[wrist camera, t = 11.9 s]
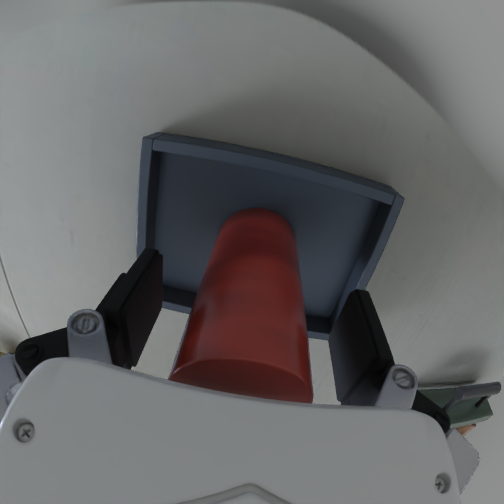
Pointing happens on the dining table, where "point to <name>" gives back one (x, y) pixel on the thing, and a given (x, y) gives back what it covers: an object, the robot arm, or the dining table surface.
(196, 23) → the dining table surface
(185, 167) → the tray
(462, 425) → the drawer
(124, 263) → the dining table surface
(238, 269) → the red tall cylinder
